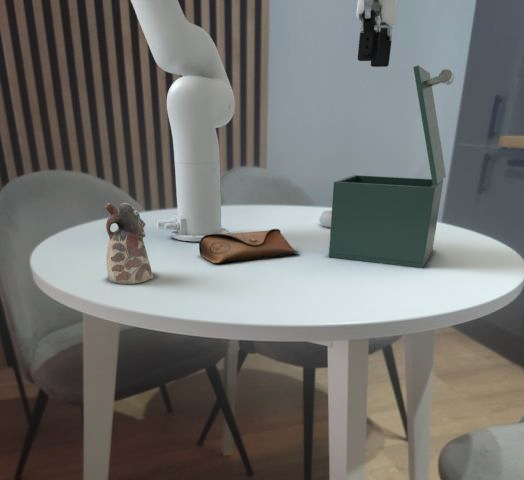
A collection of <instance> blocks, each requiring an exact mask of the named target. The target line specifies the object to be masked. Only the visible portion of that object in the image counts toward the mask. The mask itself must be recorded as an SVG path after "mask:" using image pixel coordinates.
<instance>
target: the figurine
mask: <svg viewBox="0 0 524 480" xmlns="http://www.w3.org/2000/svg"><path fill="white" fill-rule="evenodd" d="M104 208H105V210H107V211H108V213H109V214H110V215H109V217H108V218H107V220H106V224H105V229H106V233H107V234H108V238H109V241H108V245H107V252H106V272H107V276H108V279H109V281H110V282H112V283H115V284H120V285H121V284H123V285H133V284H139V283H144V282H146V281H149V280H151V279H153V278H154V276H153V272H152V271H153V270H152V267H151V263H150V260H149V257H148V252H147V249H146V244H145V242H144V239H145V237H146V233H145V229H144V228H145V227H146V223H145V221H144V220H143V219H142V218H141V216H140V213H139V211H138V210H137V209H136V208H135V207H134V206H133V205H131V204H130V203H128V202H121V203H119V205H118V207H117V208H116V207H115V206H114V205H113V204H111V202H108V203H106V204H105V207H104ZM113 224H116V225H117V229H116V230H115V231H112V230H111V226H112V225H113Z"/></svg>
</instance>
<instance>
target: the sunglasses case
mask: <svg viewBox="0 0 524 480" xmlns="http://www.w3.org/2000/svg"><path fill="white" fill-rule="evenodd" d="M198 243H199V244H198V250H199V256H200V257H202V258H203V259H204V260H206V261H207V262H210V263H211V264H222V263H228V262H236V261H237V262H238V261H249V260H259V259H271V258H272V259H273V258H278V257H284V256H289V255H292V254H298V251H296V250H295V249H294V248H293V246H291V244H290V243H289V242H288V240H287V239H286V238H285V237H284V235H283V234H282V232H281V230H280V228H279V229H278V228H271V229H269V230H259V231H258V230H257V231H256V230H255V231H244V232H235V233H234V232H233V233H229V234H210V235H206V236H204V237H203V238H202V239H201V240H200V242H198Z"/></svg>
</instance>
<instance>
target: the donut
mask: <svg viewBox="0 0 524 480" xmlns="http://www.w3.org/2000/svg"><path fill="white" fill-rule="evenodd" d="M331 216H332V209H331V210H326V211H323V212H322V213H321V214H320V215H319V217H318V218H319V223H320V224H321V225H322V226H323V227H325V228H329V229H331Z"/></svg>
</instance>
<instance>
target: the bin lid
mask: <svg viewBox="0 0 524 480" xmlns="http://www.w3.org/2000/svg"><path fill="white" fill-rule="evenodd" d="M412 68H413V73H414V74H413V75H414V79H415V86H416V92H417V99H418V104H419V111H420V117H421V122H422V129H423V135H424V141H425V146H426V147H425V148H426V152H427V158H428V165H429V171H430V176H431V178H430V179H432V184H433V185H437V184H438V183H440V182H441V181H442V180H443V181H444V179H445V178H446V177H447V174H446V167H445V160H444V154H443V149H442V142H441V136H440V129H439V123H438V116H437V111H436V104H435V98H434V91H433V87H434V86H436V85H440V84H443V85H445V86H449V85H452V84H453V82H454V81H455V74H454V73H453V72H452V71H451V70H450V69H449V68H444V69H442V70H440V71H439V74H438V75H437V76H433V77H431V73H430V72H428V71H427V70H426V69H424V68H423V67H422V66H420V65H415V66H413V67H412Z"/></svg>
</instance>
